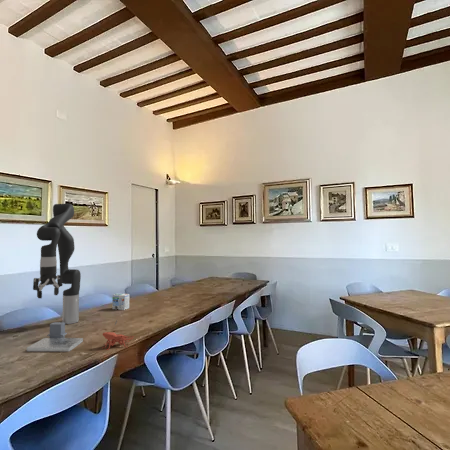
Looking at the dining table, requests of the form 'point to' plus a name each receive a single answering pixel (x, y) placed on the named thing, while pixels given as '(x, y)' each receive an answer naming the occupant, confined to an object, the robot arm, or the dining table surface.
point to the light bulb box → (120, 301)
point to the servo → (57, 330)
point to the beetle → (115, 338)
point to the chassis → (55, 344)
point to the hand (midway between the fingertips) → (48, 296)
